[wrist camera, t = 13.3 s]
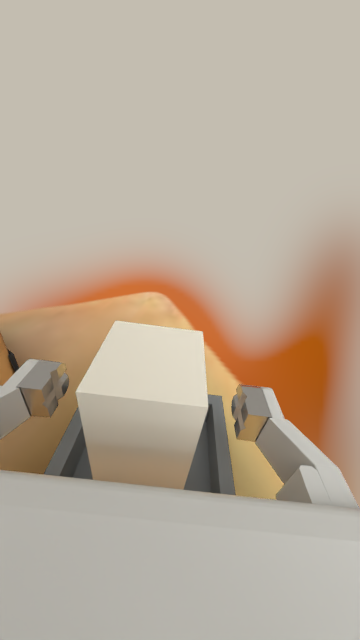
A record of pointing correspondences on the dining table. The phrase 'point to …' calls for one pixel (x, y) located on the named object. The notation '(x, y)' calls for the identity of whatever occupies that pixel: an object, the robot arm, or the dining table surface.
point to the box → (206, 467)
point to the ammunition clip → (6, 363)
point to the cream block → (144, 404)
